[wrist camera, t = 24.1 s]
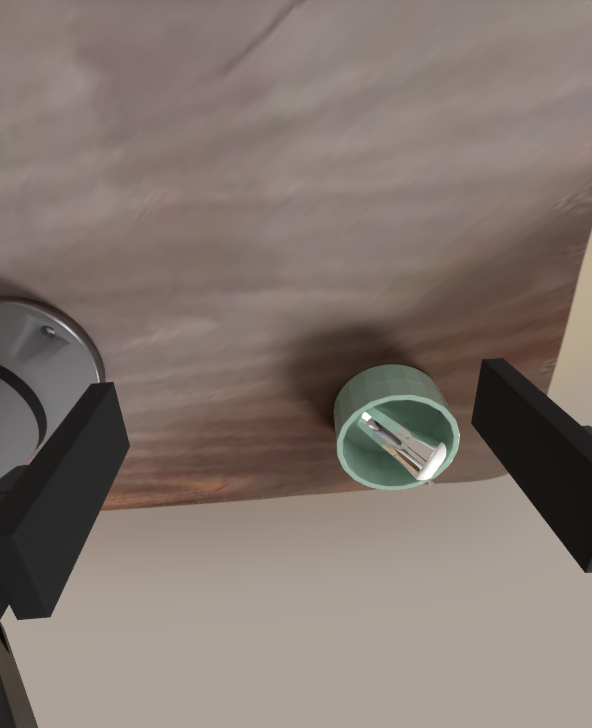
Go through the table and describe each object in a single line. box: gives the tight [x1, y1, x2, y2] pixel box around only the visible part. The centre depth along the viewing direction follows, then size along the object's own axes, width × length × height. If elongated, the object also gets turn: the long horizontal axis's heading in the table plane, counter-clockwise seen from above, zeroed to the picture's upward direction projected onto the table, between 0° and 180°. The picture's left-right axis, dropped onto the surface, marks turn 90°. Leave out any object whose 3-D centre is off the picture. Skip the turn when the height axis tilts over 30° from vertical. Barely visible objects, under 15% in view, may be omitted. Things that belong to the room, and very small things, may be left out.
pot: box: [333, 364, 460, 490], centre depth 46 cm, size 12×12×6 cm
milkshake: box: [357, 405, 446, 488], centre depth 45 cm, size 5×5×10 cm
